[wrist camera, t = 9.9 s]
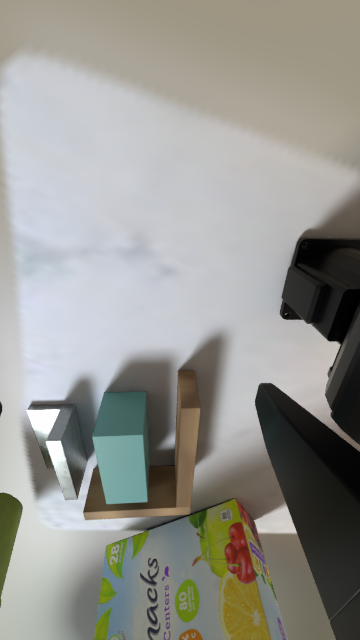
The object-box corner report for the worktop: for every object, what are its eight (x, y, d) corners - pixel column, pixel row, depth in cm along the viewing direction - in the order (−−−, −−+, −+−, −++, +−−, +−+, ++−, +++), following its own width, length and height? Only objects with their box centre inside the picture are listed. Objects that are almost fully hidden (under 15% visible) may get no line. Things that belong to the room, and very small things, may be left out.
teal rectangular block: (146, 390, 25) (142, 434, 21) (149, 454, 30) (147, 501, 26) (104, 391, 25) (92, 436, 20) (114, 456, 30) (106, 504, 25)
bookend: (74, 404, 25) (60, 441, 22) (87, 461, 29) (77, 499, 26) (29, 405, 25) (8, 442, 21) (49, 462, 29) (33, 501, 26)
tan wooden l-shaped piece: (194, 370, 24) (200, 408, 20) (186, 472, 32) (189, 514, 28) (73, 372, 23) (55, 411, 19) (94, 476, 31) (85, 520, 27)
